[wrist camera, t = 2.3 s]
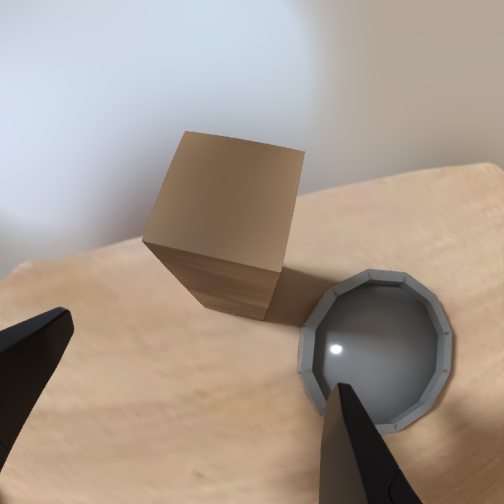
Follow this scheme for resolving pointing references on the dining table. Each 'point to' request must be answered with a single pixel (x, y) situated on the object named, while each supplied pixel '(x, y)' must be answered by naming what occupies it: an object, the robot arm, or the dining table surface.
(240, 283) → the walnut post
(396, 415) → the dish
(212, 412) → the dining table surface
